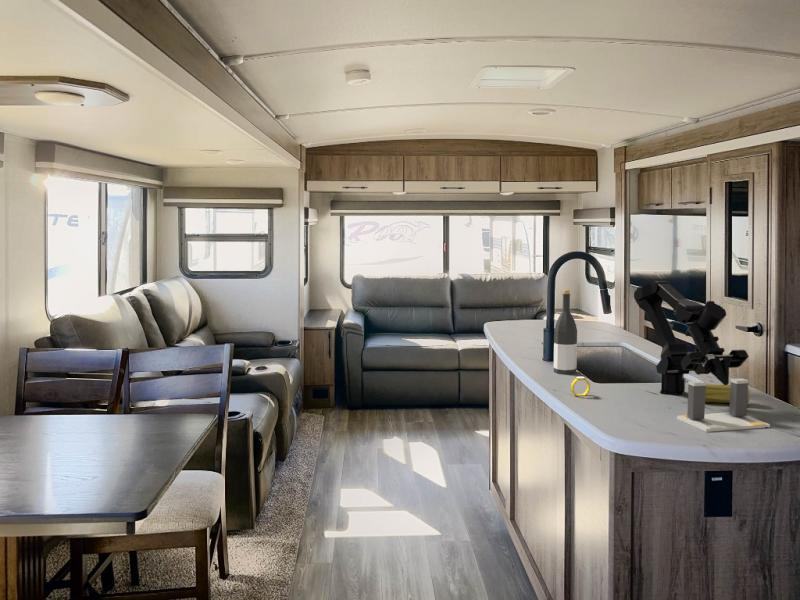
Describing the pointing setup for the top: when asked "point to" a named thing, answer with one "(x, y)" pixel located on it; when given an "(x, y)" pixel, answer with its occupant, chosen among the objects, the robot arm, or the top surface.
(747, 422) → the switch board
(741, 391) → the switch
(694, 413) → the switch
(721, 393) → the vase
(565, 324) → the wine bottle
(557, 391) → the top surface
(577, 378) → the yellow ring
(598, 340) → the top surface
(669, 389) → the robot arm
